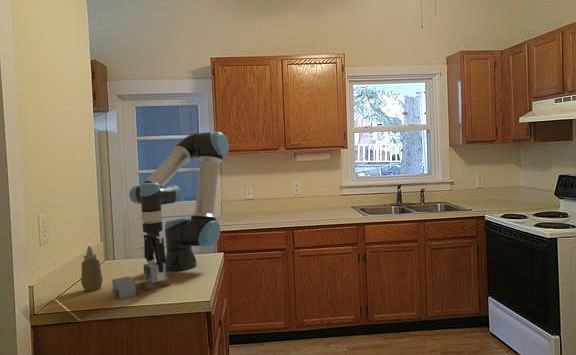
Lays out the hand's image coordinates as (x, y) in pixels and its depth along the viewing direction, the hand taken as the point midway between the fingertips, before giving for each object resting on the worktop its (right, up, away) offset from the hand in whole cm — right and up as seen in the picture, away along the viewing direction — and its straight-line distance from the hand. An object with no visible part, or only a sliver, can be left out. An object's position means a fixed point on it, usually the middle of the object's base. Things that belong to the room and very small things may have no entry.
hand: (156, 278), depth 183 cm
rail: (-4, -5, -4) cm, 7 cm away
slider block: (-10, -5, -8) cm, 14 cm away
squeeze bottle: (-26, -6, +3) cm, 27 cm away
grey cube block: (0, 0, 0) cm, 0 cm away
